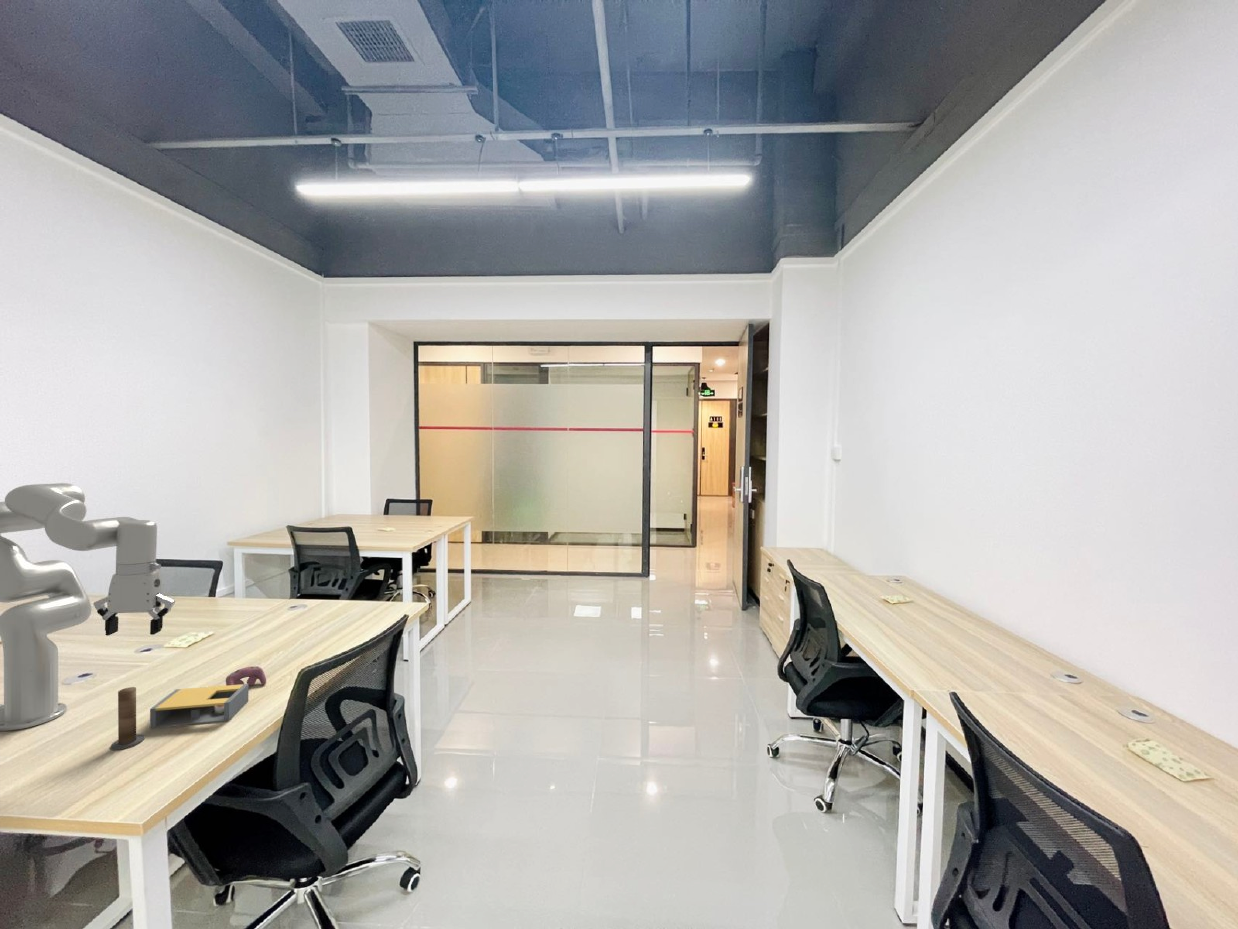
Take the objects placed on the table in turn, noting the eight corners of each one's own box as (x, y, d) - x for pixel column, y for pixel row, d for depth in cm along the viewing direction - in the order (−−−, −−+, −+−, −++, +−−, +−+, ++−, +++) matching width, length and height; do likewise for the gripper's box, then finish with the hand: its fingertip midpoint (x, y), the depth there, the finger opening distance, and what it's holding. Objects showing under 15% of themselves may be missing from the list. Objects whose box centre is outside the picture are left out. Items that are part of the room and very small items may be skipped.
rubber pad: (104, 751, 121) (104, 749, 121) (122, 737, 127) (122, 736, 127) (134, 748, 123) (134, 746, 123) (150, 734, 129) (150, 733, 129)
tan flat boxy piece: (149, 728, 132) (150, 709, 132) (175, 707, 142) (175, 689, 142) (229, 721, 136) (229, 702, 136) (248, 701, 147) (248, 684, 147)
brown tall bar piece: (124, 738, 126) (124, 687, 126) (139, 737, 127) (139, 686, 127) (114, 746, 123) (114, 693, 123) (130, 744, 124) (130, 692, 124)
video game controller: (263, 686, 159) (260, 664, 161) (268, 683, 157) (265, 661, 159) (225, 697, 152) (222, 674, 154) (229, 695, 149) (226, 671, 151)
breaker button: (211, 713, 138) (211, 708, 138) (218, 707, 142) (218, 701, 142) (226, 712, 139) (226, 706, 139) (233, 706, 143) (233, 700, 143)
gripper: (183, 565, 135) (181, 627, 136) (107, 564, 132) (105, 628, 132) (165, 572, 128) (162, 638, 128) (83, 571, 124) (81, 639, 125)
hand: (133, 633), depth 130 cm, fingers open, 9 cm apart
